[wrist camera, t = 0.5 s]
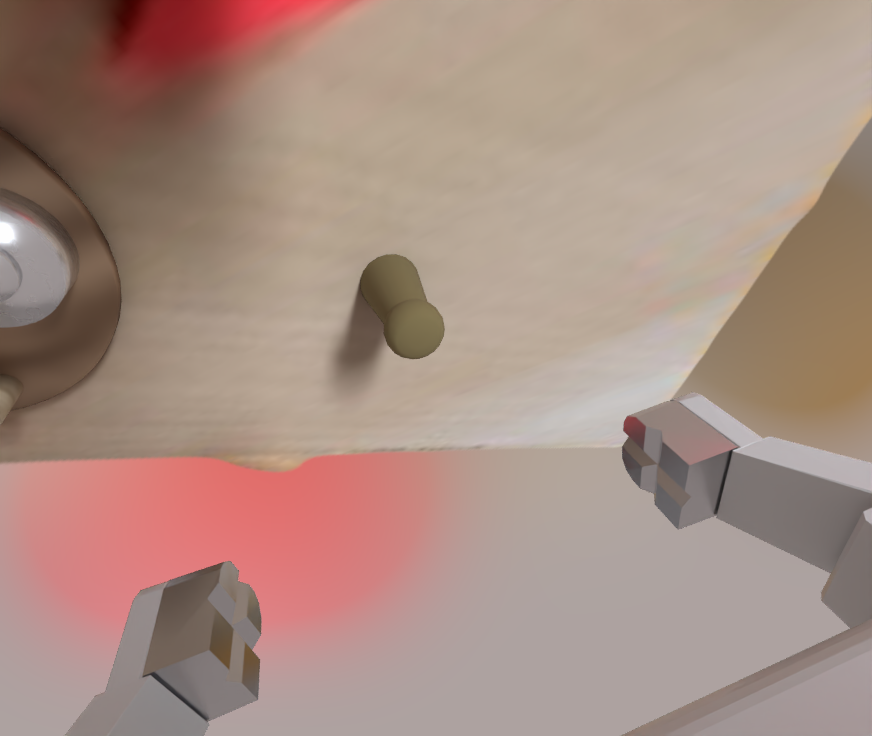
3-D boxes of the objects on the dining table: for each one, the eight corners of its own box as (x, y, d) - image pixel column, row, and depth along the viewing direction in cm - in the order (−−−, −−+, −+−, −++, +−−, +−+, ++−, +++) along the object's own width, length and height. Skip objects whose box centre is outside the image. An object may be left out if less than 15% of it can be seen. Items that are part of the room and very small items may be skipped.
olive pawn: (375, 318, 48) (400, 381, 39) (349, 271, 44) (371, 329, 35) (426, 293, 48) (463, 350, 39) (405, 243, 44) (440, 295, 35)
